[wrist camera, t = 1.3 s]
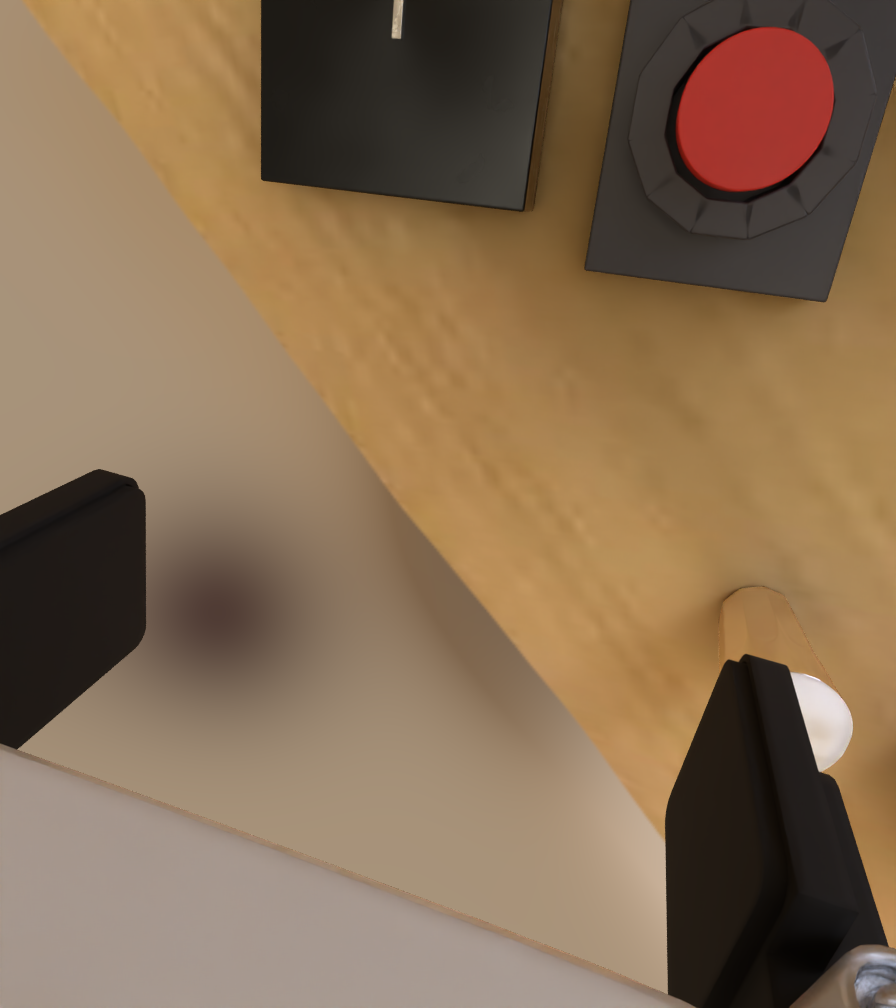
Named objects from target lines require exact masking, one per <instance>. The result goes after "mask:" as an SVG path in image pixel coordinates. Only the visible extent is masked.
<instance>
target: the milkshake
mask: <svg viewBox="0 0 896 1008" xmlns="http://www.w3.org/2000/svg"><path fill="white" fill-rule="evenodd" d="M718 628H719V675H720V672H721V670H722V667H723V665H724V663H725V662H726V661H727V660H728V659H730V660H734V661H737V662H739V660H740V659H741V657H742V656H743V655H744V654H749V655H753V656H756V657H760V658H763V659H767V660H770V661H774V662H777V663H781V664H784V665H786V666H788V668H789V670H790V673H791V677H792V680H793V684H794V687H795V691H796V694H797V698H798V701H799V705H800V708H801V712H802V715H803V719H804V722H805V726H806V729H807V733H808V736H809V739H810V743H811V746H812V750H813V753H814V757H815V760H816V764H817V767H818V771H819V772H822V771H824V770H825V769H827V768H829V767H830V766H832V765H833V764H834V763H835V762H837V761H838V760H839V759H840V758H841V756H842V755H843V754H844V752H845V750H846V748H847V746H848V744H849V742H850V739H851V737H852V732H853V722H852V717H851V713H850V711H849V709H848V707H847V705H846V703H845V702H844V701H843V699H842V697H841V695H840V694H839V692H838V690H837V689H836V687H835V685H834V683H833V682H832V680H831V678H830V677H829V675H828V673H827V672H826V670H825V668H824V667H823V665H822V663H821V662H820V660H819V659H818V657H817V656H816V654H815V653H814V651H813V649H812V647H811V645H810V643H809V641H808V639H807V637H806V635H805V633H804V631H803V629H802V627H801V625H800V623H799V621H798V619H797V618H796V616H795V614H794V612H793V610H792V608H791V606H790V605H789V603H788V601H787V599H786V597H785V596H784V595H782V594H780V593H778V592H775V591H773V590H771V589H769V588H767V587H765V586H759V587H749V588H740V589H739V590H737V591H736V592H735V593H733V594H732V595H731V596H730V597H728V598H727V599H726V600H724V601H723V604H722V608H721V612H720V617H719V622H718Z"/></svg>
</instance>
